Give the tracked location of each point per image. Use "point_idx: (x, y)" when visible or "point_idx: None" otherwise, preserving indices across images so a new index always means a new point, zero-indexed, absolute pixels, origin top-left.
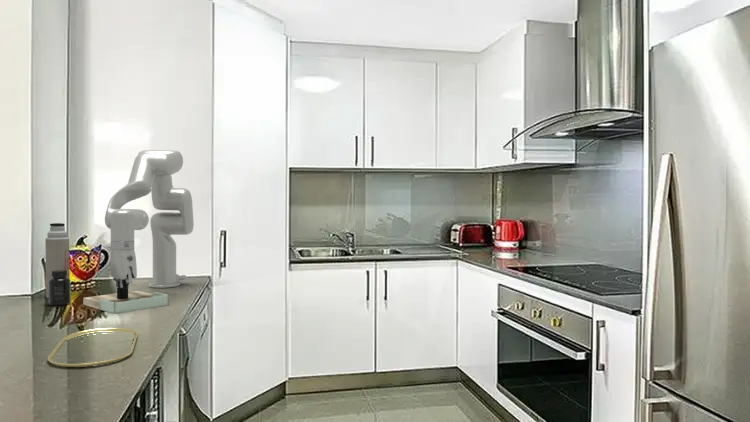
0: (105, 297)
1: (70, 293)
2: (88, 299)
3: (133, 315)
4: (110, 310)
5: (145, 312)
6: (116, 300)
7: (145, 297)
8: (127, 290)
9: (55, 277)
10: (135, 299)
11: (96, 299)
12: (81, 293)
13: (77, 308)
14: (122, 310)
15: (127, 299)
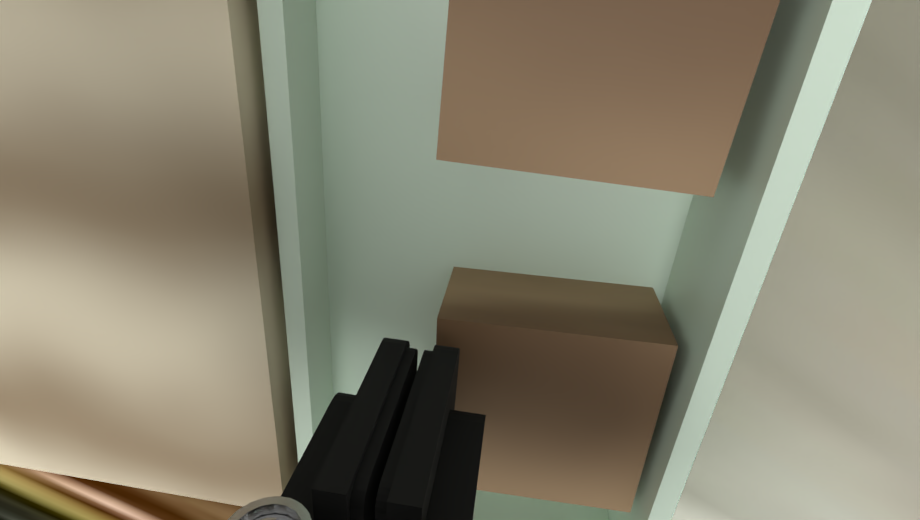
0: (15, 328)
1: None
2: (35, 466)
3: (883, 469)
4: (536, 503)
5: (915, 316)
6: (272, 346)
7: (528, 15)
8: (437, 456)
9: None
10: (290, 63)
11: (99, 446)
12: None
13: (141, 496)
14: None
15: (438, 323)
